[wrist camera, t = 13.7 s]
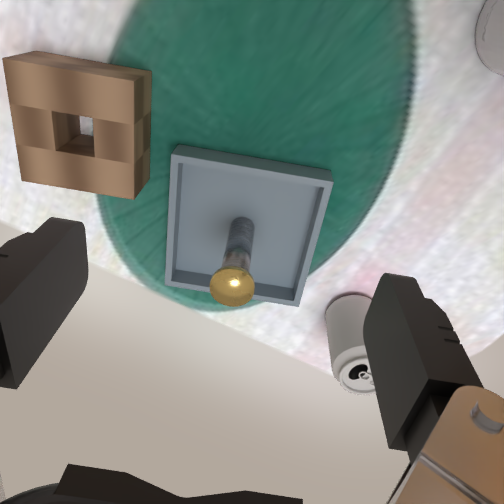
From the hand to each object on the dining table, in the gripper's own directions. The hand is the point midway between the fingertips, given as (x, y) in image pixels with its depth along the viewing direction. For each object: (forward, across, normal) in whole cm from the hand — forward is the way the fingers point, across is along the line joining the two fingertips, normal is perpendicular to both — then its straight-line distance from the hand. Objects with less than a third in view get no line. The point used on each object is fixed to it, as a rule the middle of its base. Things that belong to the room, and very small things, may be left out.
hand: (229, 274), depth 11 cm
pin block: (+36, +18, +8) cm, 41 cm away
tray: (+36, 0, +18) cm, 40 cm away
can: (+36, -17, +29) cm, 49 cm away
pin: (+35, 0, +18) cm, 40 cm away
